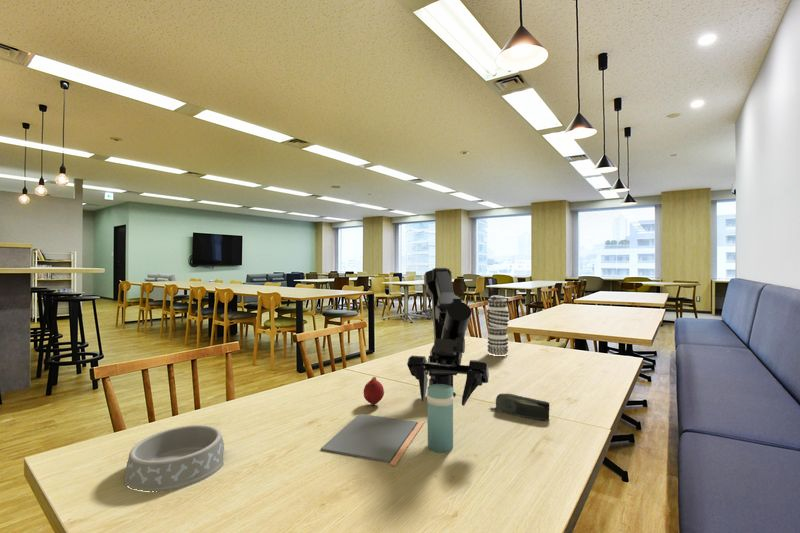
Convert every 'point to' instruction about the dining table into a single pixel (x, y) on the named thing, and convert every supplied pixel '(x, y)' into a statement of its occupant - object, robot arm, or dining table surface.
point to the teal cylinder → (440, 418)
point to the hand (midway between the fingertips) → (442, 402)
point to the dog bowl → (175, 458)
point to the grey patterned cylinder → (497, 325)
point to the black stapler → (522, 406)
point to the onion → (373, 391)
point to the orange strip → (406, 444)
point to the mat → (371, 437)
